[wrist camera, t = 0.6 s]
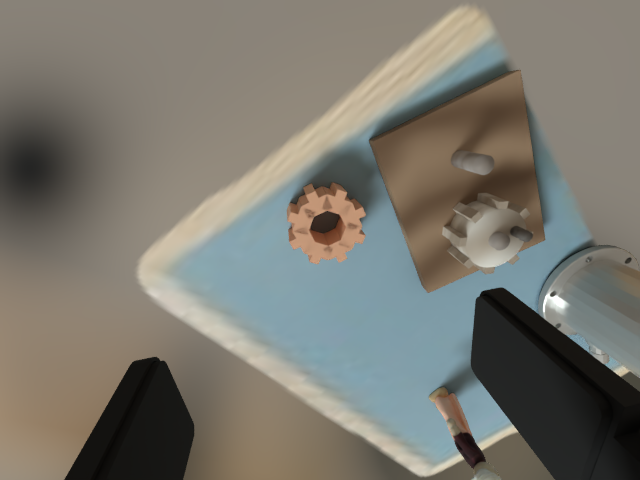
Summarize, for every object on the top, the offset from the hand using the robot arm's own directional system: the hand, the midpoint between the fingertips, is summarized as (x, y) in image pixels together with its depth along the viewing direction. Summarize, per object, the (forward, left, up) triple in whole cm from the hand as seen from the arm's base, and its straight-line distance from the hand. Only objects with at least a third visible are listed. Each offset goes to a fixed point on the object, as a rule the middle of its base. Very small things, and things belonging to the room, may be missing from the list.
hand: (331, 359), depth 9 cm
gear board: (-8, -15, -22) cm, 28 cm away
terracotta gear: (-4, -1, -22) cm, 22 cm away
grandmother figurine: (-36, -5, -22) cm, 43 cm away
